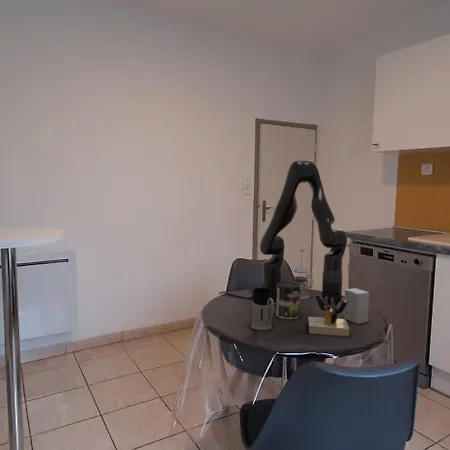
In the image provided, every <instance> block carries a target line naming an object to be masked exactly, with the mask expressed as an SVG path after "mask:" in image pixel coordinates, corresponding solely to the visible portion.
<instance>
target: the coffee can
mask: <svg viewBox="0 0 450 450" xmlns="http://www.w3.org/2000/svg"><path fill="white" fill-rule="evenodd" d="M300 289H301V288H300V284H298V283H294V282H293V281H282V282H279V283H277V303H276V305H275V306H276V307H275V316H276V317H277V318H280V319H284V320H296V319H298V318H299V317H300V300H301V299H300V291H301V290H300Z"/></svg>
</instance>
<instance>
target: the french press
mask: <svg viewBox="0 0 450 450" xmlns="http://www.w3.org/2000/svg"><path fill="white" fill-rule="evenodd" d="M299 251H300V252H301V254H300V255H301V260H300V267H296V268H294V269H293V272H294V273H298V274H306V276H302V275H300V276H295V277H293V281H292V282H294V283H298V284H300V300H306V299H310V295H309V289H310V288H311V287H313V284H314V283H313V276H312V275H310V274H309V272H310V270H309V269H307V268H306V267H303V266H302V263H303V252H304V249H303V248H301V249H300V250H299ZM307 273H308V274H307ZM308 278H309V280H308ZM309 283H310V284H309Z"/></svg>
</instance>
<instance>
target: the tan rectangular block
mask: <svg viewBox="0 0 450 450" xmlns="http://www.w3.org/2000/svg"><path fill="white" fill-rule="evenodd" d="M323 314H324V315H323V318H324V324H325V325H330V324H332V323H331V321H332V308H330V310H328V311H324V313H323Z"/></svg>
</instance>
